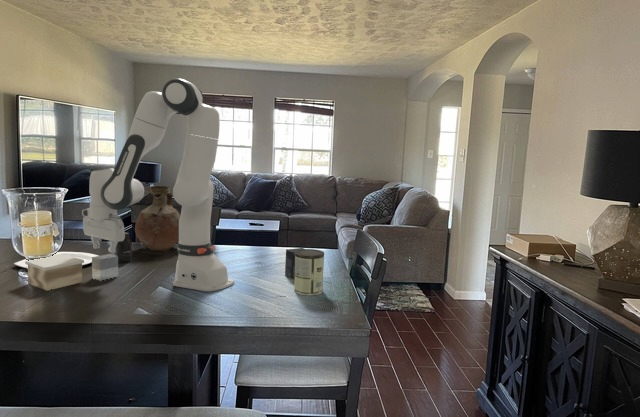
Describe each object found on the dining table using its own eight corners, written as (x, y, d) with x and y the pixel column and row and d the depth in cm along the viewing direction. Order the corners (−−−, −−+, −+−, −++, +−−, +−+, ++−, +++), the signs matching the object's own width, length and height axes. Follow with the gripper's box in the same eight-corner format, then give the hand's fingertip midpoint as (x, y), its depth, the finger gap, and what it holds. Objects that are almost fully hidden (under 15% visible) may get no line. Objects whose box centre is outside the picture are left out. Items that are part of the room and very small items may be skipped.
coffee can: (299, 285, 161) (300, 247, 159) (326, 288, 158) (327, 250, 156) (289, 293, 151) (290, 253, 149) (317, 297, 148) (319, 256, 146)
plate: (112, 260, 186) (112, 255, 186) (58, 277, 160) (58, 272, 160) (61, 254, 193) (61, 249, 193) (2, 269, 167) (2, 264, 167)
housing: (118, 276, 162) (117, 255, 161) (100, 281, 156) (99, 259, 155) (110, 274, 165) (109, 253, 164) (92, 278, 159) (91, 257, 158)
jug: (126, 253, 198) (125, 187, 194) (147, 243, 219) (146, 183, 215) (174, 255, 197) (173, 189, 193) (189, 245, 218) (190, 185, 214)
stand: (84, 282, 154) (84, 260, 153) (45, 291, 143) (44, 267, 142) (64, 275, 161) (63, 254, 160) (26, 283, 150) (24, 261, 149)
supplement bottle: (127, 263, 180) (127, 235, 179) (111, 262, 181) (110, 234, 179) (134, 259, 187) (134, 232, 186) (119, 258, 187) (118, 231, 186)
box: (291, 278, 168) (292, 252, 167) (284, 275, 173) (285, 249, 171) (309, 276, 172) (310, 250, 171) (301, 272, 177) (302, 247, 176)
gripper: (129, 215, 155) (129, 253, 156) (95, 208, 165) (96, 244, 167) (112, 217, 149) (113, 256, 151) (79, 210, 160) (80, 247, 162)
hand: (104, 250), depth 159 cm, fingers open, 8 cm apart
